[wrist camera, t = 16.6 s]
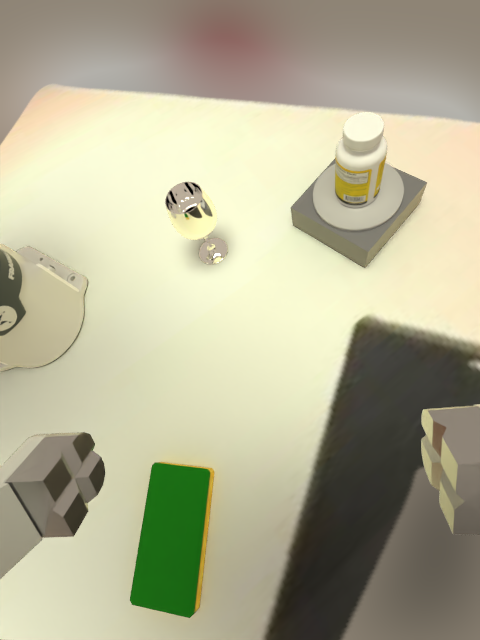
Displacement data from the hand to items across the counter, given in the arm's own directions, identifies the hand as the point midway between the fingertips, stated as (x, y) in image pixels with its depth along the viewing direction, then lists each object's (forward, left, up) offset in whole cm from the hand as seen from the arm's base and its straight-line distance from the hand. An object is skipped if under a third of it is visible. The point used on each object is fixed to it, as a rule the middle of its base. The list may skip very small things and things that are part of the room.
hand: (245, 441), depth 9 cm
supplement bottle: (-15, +28, -30) cm, 44 cm away
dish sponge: (-6, -16, -35) cm, 39 cm away
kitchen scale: (-15, +29, -34) cm, 47 cm away
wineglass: (-28, +13, -35) cm, 46 cm away
